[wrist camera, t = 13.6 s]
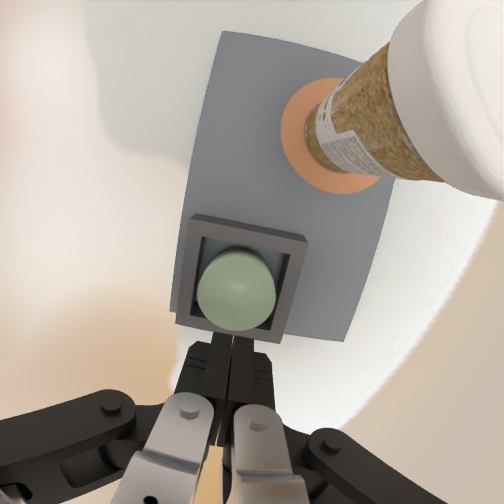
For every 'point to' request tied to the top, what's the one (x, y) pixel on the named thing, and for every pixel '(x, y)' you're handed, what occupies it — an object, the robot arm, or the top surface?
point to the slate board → (276, 192)
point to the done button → (237, 290)
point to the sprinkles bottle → (423, 103)
